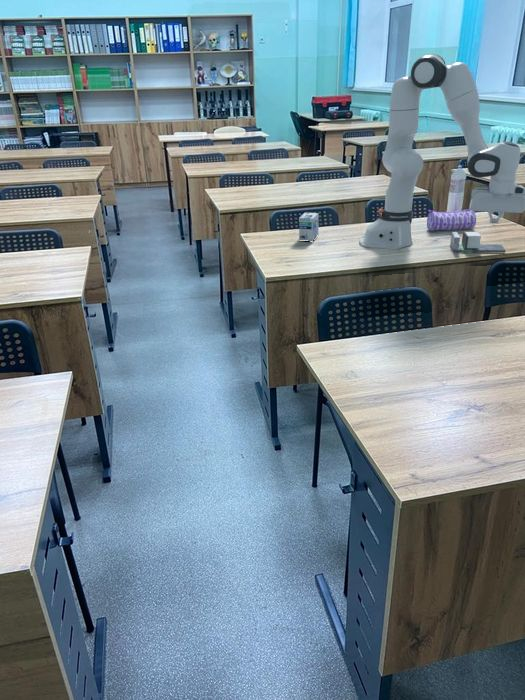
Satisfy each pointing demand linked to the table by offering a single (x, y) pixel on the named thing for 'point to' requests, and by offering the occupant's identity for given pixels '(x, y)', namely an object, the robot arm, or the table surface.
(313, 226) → the light bulb box
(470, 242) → the white cube on plate
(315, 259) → the table surface
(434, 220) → the pencil case
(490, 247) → the rail
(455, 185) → the water bottle
